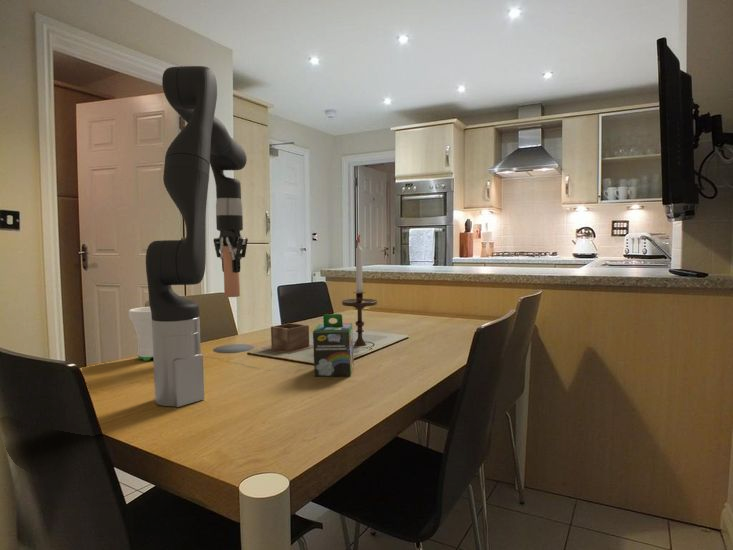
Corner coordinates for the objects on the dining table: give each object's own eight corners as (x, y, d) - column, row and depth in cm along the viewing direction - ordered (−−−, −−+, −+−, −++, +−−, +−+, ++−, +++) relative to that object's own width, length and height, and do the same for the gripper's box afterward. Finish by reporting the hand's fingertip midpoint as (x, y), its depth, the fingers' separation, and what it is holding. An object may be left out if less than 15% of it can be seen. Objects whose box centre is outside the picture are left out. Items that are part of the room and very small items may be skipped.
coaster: (262, 349, 144) (262, 347, 144) (229, 357, 135) (229, 355, 135) (238, 345, 152) (238, 342, 152) (204, 352, 142) (204, 349, 142)
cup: (160, 351, 144) (158, 305, 143) (181, 356, 137) (179, 307, 136) (123, 359, 135) (120, 309, 134) (144, 365, 128) (141, 312, 127)
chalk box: (354, 366, 124) (353, 310, 123) (351, 377, 115) (350, 316, 114) (318, 366, 124) (317, 310, 123) (313, 377, 115) (311, 316, 114)
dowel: (242, 296, 143) (241, 245, 141) (230, 297, 139) (228, 246, 138) (233, 295, 145) (232, 246, 144) (221, 296, 142) (219, 246, 141)
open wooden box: (318, 348, 145) (318, 325, 144) (289, 356, 136) (288, 331, 135) (291, 343, 152) (291, 321, 152) (262, 350, 143) (261, 327, 142)
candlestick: (378, 351, 141) (376, 232, 138) (341, 351, 141) (339, 233, 138) (377, 343, 152) (376, 233, 149) (343, 343, 152) (341, 233, 149)
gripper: (254, 213, 139) (256, 272, 140) (225, 216, 148) (227, 270, 149) (233, 212, 133) (235, 273, 134) (204, 215, 142) (206, 272, 143)
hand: (231, 271), depth 142 cm, fingers closed on dowel, 4 cm apart
